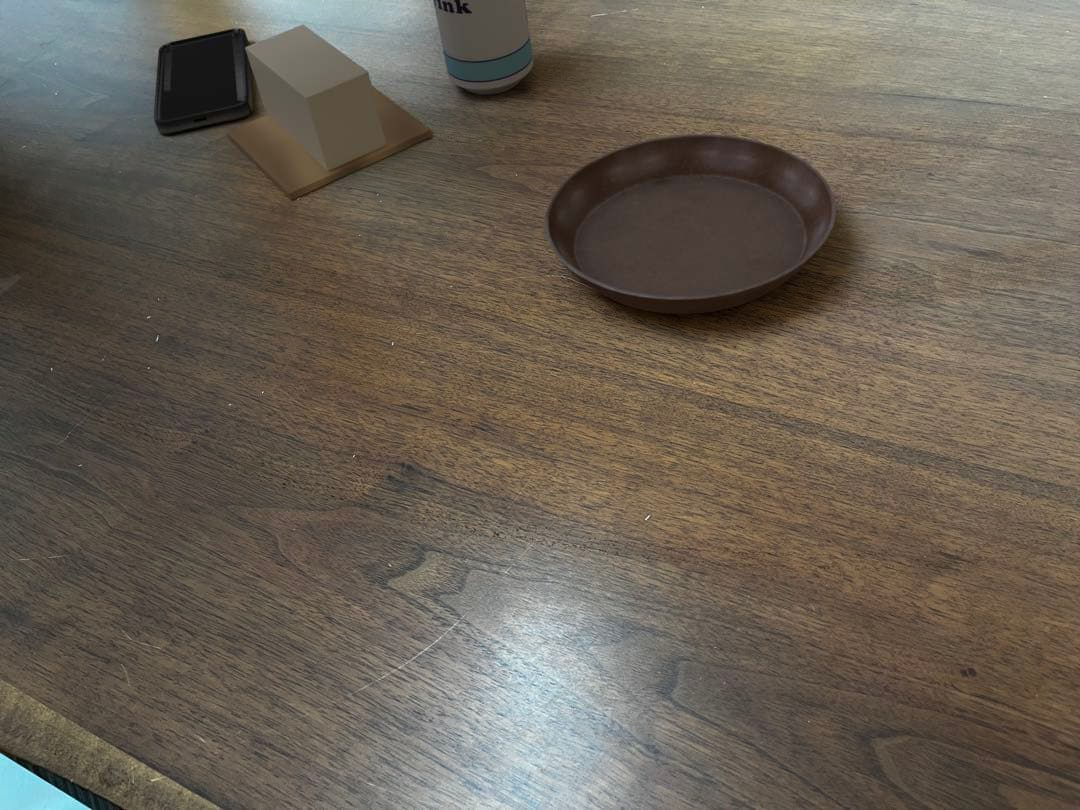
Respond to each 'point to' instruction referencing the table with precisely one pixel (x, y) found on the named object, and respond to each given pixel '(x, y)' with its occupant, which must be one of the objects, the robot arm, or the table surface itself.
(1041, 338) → the table surface
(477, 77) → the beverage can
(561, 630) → the table surface
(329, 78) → the clock
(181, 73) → the phone
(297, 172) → the pad
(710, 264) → the plant saucer
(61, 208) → the table surface
